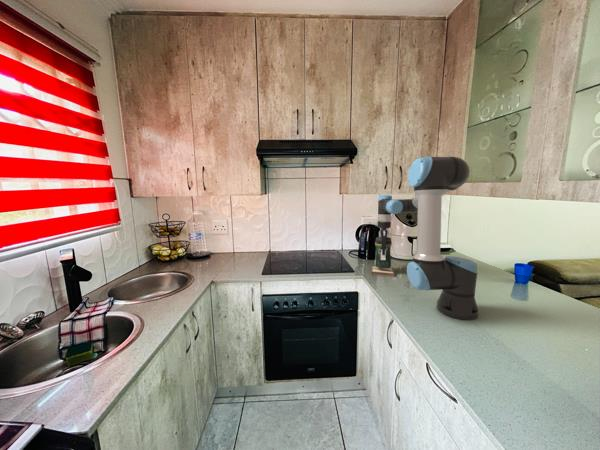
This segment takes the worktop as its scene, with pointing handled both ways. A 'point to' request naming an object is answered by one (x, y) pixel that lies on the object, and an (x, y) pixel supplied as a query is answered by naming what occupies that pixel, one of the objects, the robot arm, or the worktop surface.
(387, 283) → the worktop surface
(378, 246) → the coffee jar
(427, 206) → the robot arm
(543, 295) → the worktop surface
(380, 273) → the tan flat block
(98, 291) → the worktop surface
